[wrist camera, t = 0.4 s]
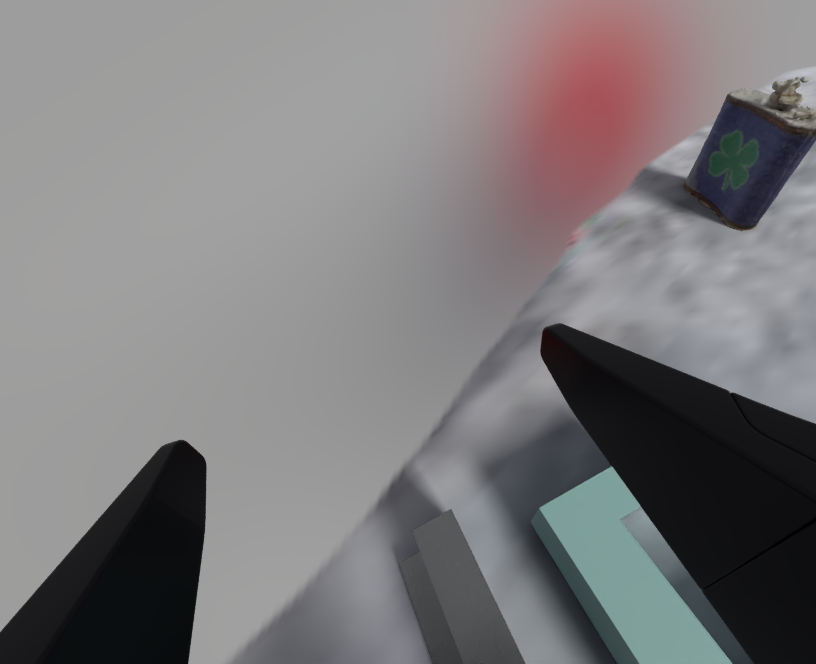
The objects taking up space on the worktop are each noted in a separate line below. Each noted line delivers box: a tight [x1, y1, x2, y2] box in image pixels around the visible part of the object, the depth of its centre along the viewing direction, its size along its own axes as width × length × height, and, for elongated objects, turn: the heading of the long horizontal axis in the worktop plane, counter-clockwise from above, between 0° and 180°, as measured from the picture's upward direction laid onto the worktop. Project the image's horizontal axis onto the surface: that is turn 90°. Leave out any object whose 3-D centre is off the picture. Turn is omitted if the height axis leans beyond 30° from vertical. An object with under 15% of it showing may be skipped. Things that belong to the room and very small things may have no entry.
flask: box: [684, 77, 816, 231], centre depth 30 cm, size 9×3×11 cm, turn 5°
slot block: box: [531, 466, 732, 664], centre depth 15 cm, size 11×8×4 cm
